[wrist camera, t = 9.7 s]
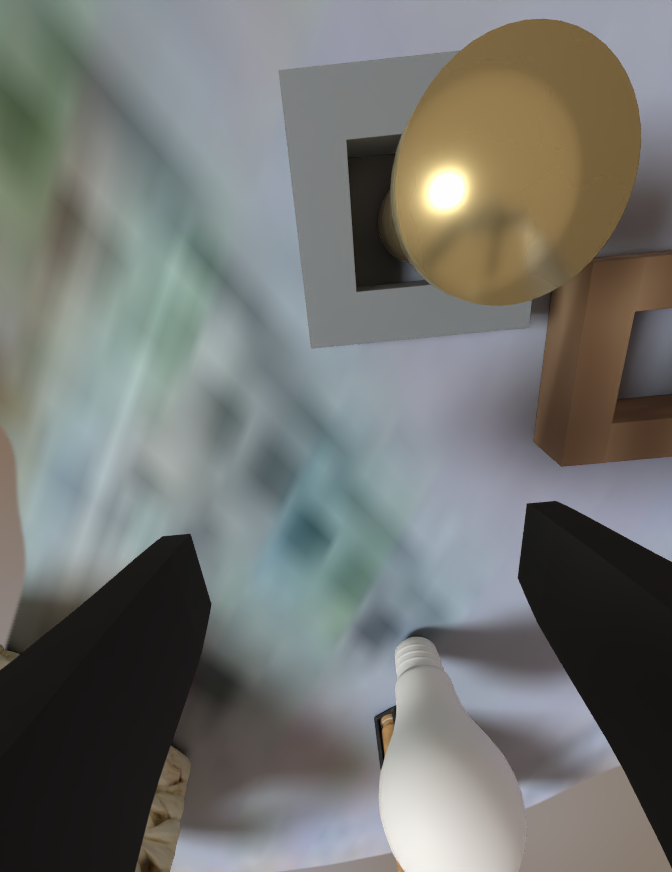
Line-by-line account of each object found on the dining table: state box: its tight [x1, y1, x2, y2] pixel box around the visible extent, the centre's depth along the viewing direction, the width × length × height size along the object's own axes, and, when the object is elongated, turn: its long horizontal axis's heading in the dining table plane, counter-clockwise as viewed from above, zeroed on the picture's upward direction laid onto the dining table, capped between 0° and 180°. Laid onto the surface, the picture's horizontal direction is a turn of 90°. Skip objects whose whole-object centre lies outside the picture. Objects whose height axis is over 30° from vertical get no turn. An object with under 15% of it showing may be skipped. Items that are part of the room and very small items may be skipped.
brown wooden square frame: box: [533, 250, 672, 467], centre depth 16 cm, size 8×8×2 cm
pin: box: [378, 19, 641, 306], centre depth 11 cm, size 4×4×9 cm
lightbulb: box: [379, 637, 527, 872], centre depth 20 cm, size 6×6×11 cm
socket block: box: [279, 51, 532, 349], centre depth 14 cm, size 8×8×2 cm
